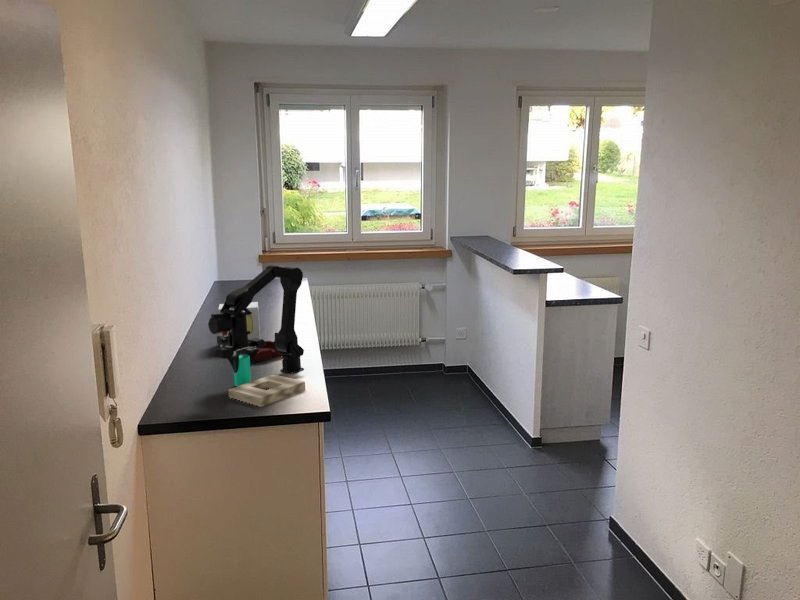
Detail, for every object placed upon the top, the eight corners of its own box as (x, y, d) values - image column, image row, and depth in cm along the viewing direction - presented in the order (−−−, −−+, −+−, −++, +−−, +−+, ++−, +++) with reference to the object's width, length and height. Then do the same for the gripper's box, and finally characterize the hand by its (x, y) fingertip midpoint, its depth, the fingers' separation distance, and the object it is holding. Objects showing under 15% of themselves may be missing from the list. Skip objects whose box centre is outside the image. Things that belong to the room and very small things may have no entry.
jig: (273, 382, 234) (273, 374, 233) (305, 389, 224) (304, 381, 223) (228, 398, 218) (228, 389, 217) (260, 406, 208) (260, 397, 208)
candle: (253, 382, 234) (250, 349, 232) (250, 387, 229) (247, 354, 226) (236, 382, 234) (234, 350, 232) (232, 387, 228) (230, 355, 226)
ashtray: (284, 362, 260) (283, 350, 259) (242, 364, 259) (242, 352, 258) (288, 351, 277) (288, 339, 276) (250, 352, 276) (249, 341, 275)
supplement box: (220, 350, 281) (216, 309, 278) (221, 342, 294) (218, 303, 290) (260, 347, 284) (258, 306, 281) (260, 340, 297) (258, 301, 294)
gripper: (244, 321, 240) (247, 361, 243) (202, 331, 225) (206, 374, 228) (265, 324, 233) (268, 366, 236) (223, 335, 218) (226, 379, 221)
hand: (242, 371), depth 230 cm, fingers closed on candle, 5 cm apart
